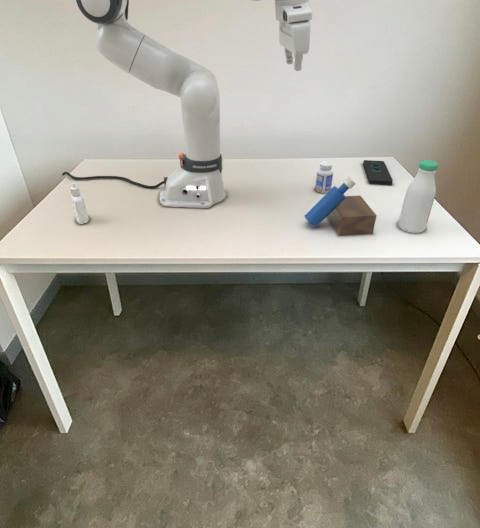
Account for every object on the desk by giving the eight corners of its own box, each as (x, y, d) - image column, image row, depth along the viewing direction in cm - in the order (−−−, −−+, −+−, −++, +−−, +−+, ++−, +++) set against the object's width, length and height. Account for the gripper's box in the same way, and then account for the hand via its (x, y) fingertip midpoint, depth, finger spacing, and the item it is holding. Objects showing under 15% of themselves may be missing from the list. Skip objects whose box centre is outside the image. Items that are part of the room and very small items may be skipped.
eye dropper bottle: (72, 224, 122) (62, 187, 115) (79, 215, 126) (69, 179, 119) (86, 224, 121) (77, 187, 115) (93, 215, 126) (84, 179, 119)
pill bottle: (330, 187, 144) (333, 160, 138) (331, 193, 139) (335, 166, 134) (314, 186, 144) (317, 160, 138) (315, 193, 140) (318, 166, 134)
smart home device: (384, 160, 160) (393, 180, 144) (383, 164, 161) (392, 185, 145) (362, 159, 161) (369, 179, 145) (362, 163, 162) (368, 184, 146)
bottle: (305, 230, 119) (311, 182, 110) (301, 222, 123) (307, 175, 114) (350, 227, 120) (359, 180, 112) (345, 220, 124) (353, 173, 115)
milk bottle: (421, 236, 116) (441, 170, 105) (394, 229, 120) (411, 164, 108) (427, 225, 122) (447, 160, 110) (401, 218, 125) (417, 155, 113)
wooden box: (339, 235, 116) (342, 217, 113) (326, 214, 127) (328, 196, 124) (372, 233, 117) (376, 215, 114) (357, 212, 128) (360, 195, 124)
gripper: (272, 9, 116) (275, 61, 124) (289, 16, 100) (291, 76, 108) (294, 5, 116) (295, 58, 125) (314, 12, 100) (314, 72, 108)
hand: (293, 66), depth 116 cm, fingers open, 8 cm apart
